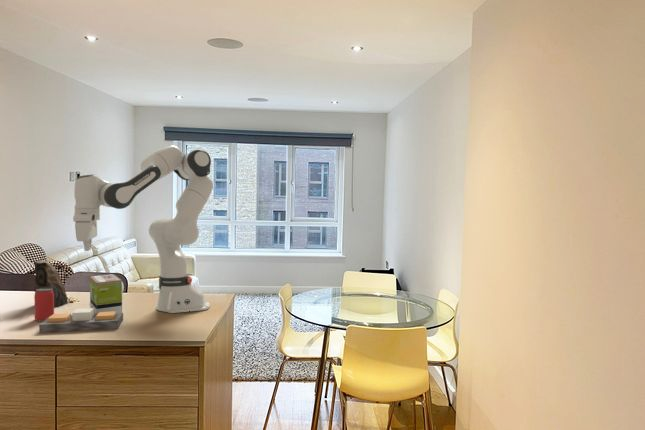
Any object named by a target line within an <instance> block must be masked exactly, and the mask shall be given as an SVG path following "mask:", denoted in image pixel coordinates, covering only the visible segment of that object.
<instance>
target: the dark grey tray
mask: <svg viewBox="0 0 645 430" xmlns="http://www.w3.org/2000/svg"><path fill="white" fill-rule="evenodd" d="M96 316H97V314H94V317H93V319H92V320H88V321H72V314H71V318H70V319H69V320H68V321H67V322H48V318H49V317H50V316H49V317H48V318H47V319H46V320H44V321H41V323H40V324H39V325H38V326H39V327H38V328H39V329H38V330H39V332H38V333H39V334H47V333H64V332H82V331H83V332H84V331H86V332H87V331H102V330H103V331H105V330H119V327H120V326H121V325H122V323H123V322H124V312H122V313H116V318H115V319H109V320H96Z"/></svg>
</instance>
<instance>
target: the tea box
mask: <svg viewBox="0 0 645 430" xmlns="http://www.w3.org/2000/svg"><path fill="white" fill-rule="evenodd" d="M110 274H111V275H108V274H102V275H95V276H94V275H93V276H92V275H91V276H89V303H90V304H89V306H90V308H94V314H98V313H99V312H111V311H116V313H123V293H122V283H123V281H122V279H121V278H119V277H118V276H116V275H115V274H113V273H110Z"/></svg>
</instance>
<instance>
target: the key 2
mask: <svg viewBox="0 0 645 430" xmlns="http://www.w3.org/2000/svg"><path fill="white" fill-rule="evenodd" d="M115 318H116V311H111V312H99V313H98V314H97V316H96V320H109V319H115Z"/></svg>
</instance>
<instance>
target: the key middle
mask: <svg viewBox="0 0 645 430" xmlns="http://www.w3.org/2000/svg"><path fill="white" fill-rule="evenodd" d="M71 315H72V321H88V320H92V319H93V317H94V308H86V307H85V308H76V309H75V310H73V312H72V313H71Z"/></svg>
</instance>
